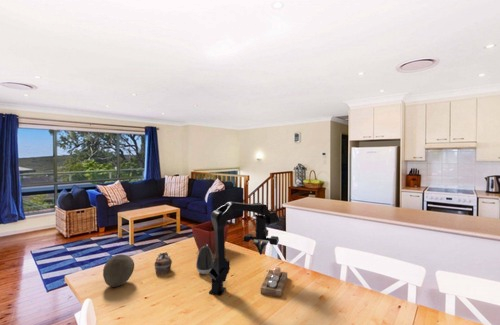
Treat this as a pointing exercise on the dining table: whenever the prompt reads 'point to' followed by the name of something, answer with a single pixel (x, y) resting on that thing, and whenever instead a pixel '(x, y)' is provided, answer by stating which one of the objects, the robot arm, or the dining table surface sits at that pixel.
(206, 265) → the dark grey ovoid piece
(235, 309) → the dining table surface
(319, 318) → the dining table surface
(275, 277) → the plug metal mid
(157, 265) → the cupcake
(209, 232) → the plant pot
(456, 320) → the dining table surface
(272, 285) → the plug metal near
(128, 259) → the dark grey stone
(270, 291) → the brown wooden tray
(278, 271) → the peach egg-shaped piece
